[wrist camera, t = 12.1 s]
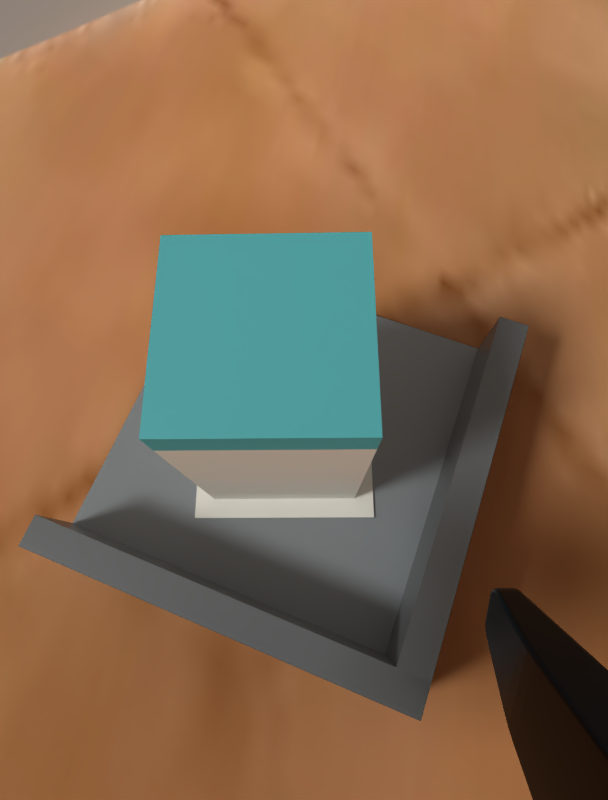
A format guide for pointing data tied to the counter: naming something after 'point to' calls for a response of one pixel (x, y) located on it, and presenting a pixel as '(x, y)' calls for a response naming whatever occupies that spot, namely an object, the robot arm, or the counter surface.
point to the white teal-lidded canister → (265, 363)
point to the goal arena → (317, 528)
